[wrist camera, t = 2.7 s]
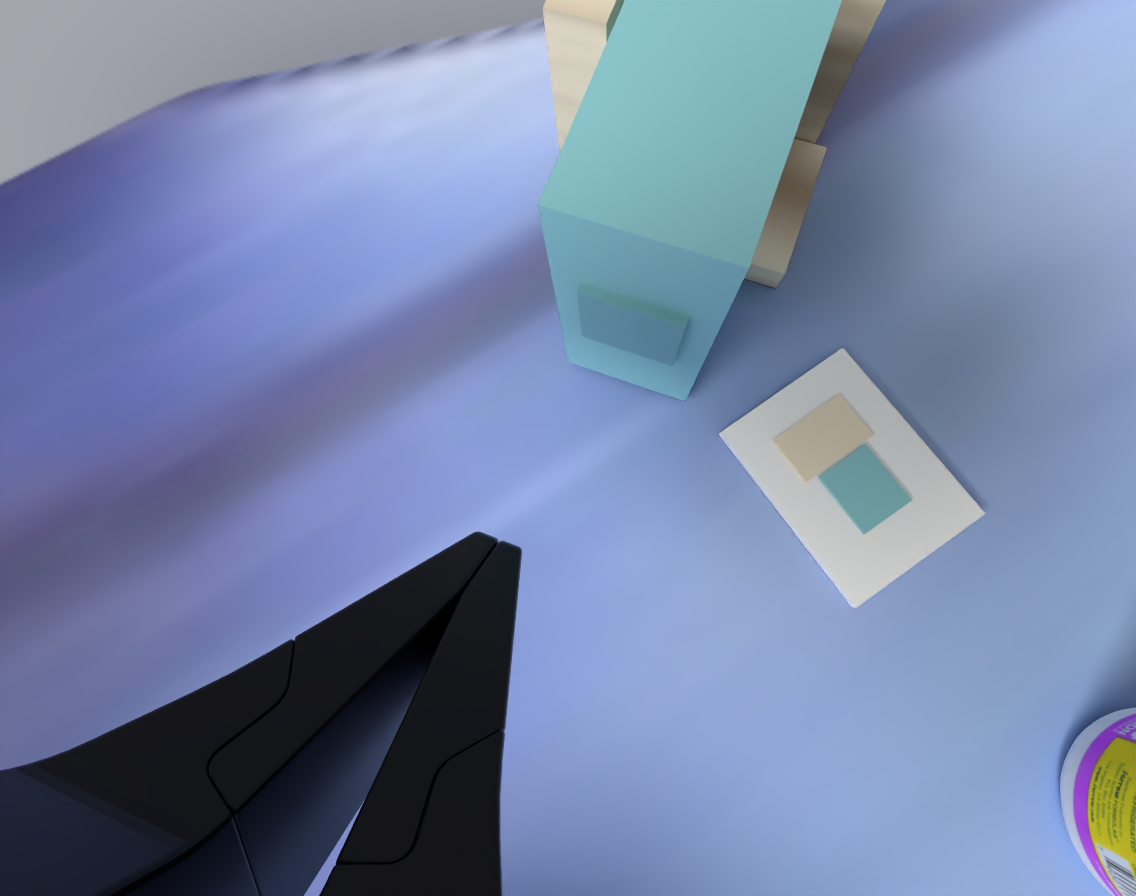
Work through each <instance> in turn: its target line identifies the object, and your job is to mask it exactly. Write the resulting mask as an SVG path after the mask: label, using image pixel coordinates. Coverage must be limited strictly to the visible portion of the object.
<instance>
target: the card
mask: <svg viewBox="0 0 1136 896" xmlns="http://www.w3.org/2000/svg"><path fill="white" fill-rule="evenodd" d="M719 436H720V437H721V438H722V439H723V441H724V442H725V443H726V445H727V446H728V447H729V449H730V450H731V451H732V452H733V454H734V455H735V456H736V458H737V459H738V460H739V462H740V463H741V464H742V465H743V467H744V468H745V469H746V471H747V472H748V473H749V474H750V476H751V477H752V478H753V480H754V481H755V482H756V484H757V485H758V486H759V487H760V489H761V490H762V491H763V493H764V494H765V495H766V497H767V498H768V499H769V500H770V502H771V503H772V504H773V506H774V507H775V508H776V510H777V511H778V512H779V513H780V515H781V516H782V517H783V519H784V520H785V521H786V522H787V524H788V525H789V526H790V528H791V529H792V530H793V532H794V533H795V534H796V535H797V537H798V538H799V539H800V541H801V542H802V543H803V545H804V546H805V547H806V548H807V550H808V551H809V552H810V554H811V555H812V556H813V558H814V559H815V560H816V561H817V563H818V564H819V565H820V567H821V568H822V569H823V570H824V572H825V573H826V574H827V576H828V577H829V578H830V580H831V581H832V582H833V583H834V585H835V586H836V587H837V589H838V590H839V591H840V593H841V594H842V595H843V596H844V598H845V599H846V600H847V602H848V603H849V604H850V606H851V607H854V608H857V607H858V606H859V605H861V604H862V603H864V602H865V601H866V600H868V599H869V598H870V597H872V596H873V595H875V594H876V593H877V592H879V591H880V590H881V589H883V588H884V587H886V586H887V585H888V584H890V583H891V582H892V581H894V580H895V579H897V578H898V577H899V576H901V575H902V574H903V573H905V572H906V571H908V570H909V569H910V568H912V567H913V566H914V565H916V564H917V563H919V562H920V561H921V560H923V559H924V558H925V557H927V556H928V555H930V554H931V553H932V552H934V551H935V550H936V549H938V548H939V547H941V546H942V545H943V544H945V543H946V542H947V541H949V540H950V539H952V538H953V537H954V536H956V535H957V534H958V533H960V532H961V531H963V530H964V529H965V528H967V527H968V526H969V525H971V524H972V523H974V522H975V521H976V520H978V519H979V518H980V517H982V516H983V515H985V512H984V511H983V510H982V509H981V508H980V507H979V505H978V504H977V503H976V502H975V501H974V500H973V498H972V497H971V496H970V495H969V494H968V493H967V491H966V490H965V489H964V488H963V487H962V486H961V484H960V483H959V482H958V481H957V480H956V479H955V477H954V476H953V475H952V474H951V473H950V472H949V470H948V469H947V468H946V467H945V466H944V465H943V464H942V462H941V461H940V460H939V459H938V458H937V457H936V455H935V454H934V453H933V452H932V451H931V450H930V448H929V447H928V446H927V445H926V444H925V443H924V441H923V440H922V439H921V438H920V437H919V436H918V434H917V433H916V432H915V431H914V430H913V429H912V427H911V426H910V425H909V424H908V423H907V422H906V420H905V419H904V418H903V417H902V416H901V415H900V413H899V412H898V411H897V410H896V409H895V408H894V406H893V405H892V404H891V403H890V402H889V401H888V399H887V398H886V397H885V396H884V395H883V394H882V392H881V391H880V390H879V389H878V388H877V387H876V385H875V384H874V383H873V382H872V381H871V380H870V379H869V377H868V376H867V375H866V374H865V373H864V372H863V370H862V369H861V368H860V367H859V366H858V365H857V363H856V362H855V361H854V360H853V359H852V358H851V356H850V355H849V354H848V353H847V352H846V351H845V349H844V348H841V349H840V350H838V351H837V352H835V353H834V354H833V355H831V356H830V357H828V358H827V359H825V360H824V361H823V362H821V363H820V364H818V365H817V366H815V367H814V368H812V369H811V370H810V371H808V372H807V373H805V374H804V375H802V376H801V377H799V378H798V379H797V380H795V381H794V382H792V383H791V384H789V385H788V386H786V387H785V388H784V389H782V390H781V391H779V392H778V393H776V394H775V395H773V396H772V397H771V398H769V399H768V400H766V401H765V402H763V403H762V404H760V405H759V406H758V407H756V408H755V409H753V410H752V411H750V412H749V413H748V414H746V415H745V416H743V417H742V418H740V419H739V420H737V421H736V422H735V423H733V424H732V425H730V426H729V427H727V428H726V429H724V430H723V431H722V432H720V433H719Z"/></svg>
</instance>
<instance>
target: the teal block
mask: <svg viewBox="0 0 1136 896" xmlns="http://www.w3.org/2000/svg"><path fill="white" fill-rule="evenodd" d="M841 1H842V0H624V3H623V5H622V8H621V10H620V12H619V15H618V17H617V19H616V22H615V24H614V26H613V29H612V31H611V33H610V36H609V38H608V40H607V43H606V45H605V48H604V50H603V52H602V55H601V57H600V59H599V62H598V64H597V66H596V69H595V71H594V73H593V76H592V78H591V80H590V83H589V85H588V88H587V90H586V92H585V95H584V97H583V99H582V102H581V104H580V106H579V109H578V111H577V113H576V116H575V118H574V120H573V123H572V125H571V128H570V130H569V132H568V135H567V137H566V139H565V142H564V144H563V146H562V149H561V151H560V153H559V156H558V158H557V160H556V163H555V165H554V167H553V170H552V172H551V175H550V177H549V179H548V182H547V184H546V186H545V189H544V191H543V193H542V196H541V198H540V200H539V203H538V209H539V214H540V219H541V224H542V230H543V235H544V240H545V245H546V250H547V256H548V261H549V266H550V271H551V276H552V281H553V287H554V292H555V297H556V302H557V307H558V312H559V318H560V323H561V328H562V333H563V338H564V344H565V349H566V354H567V359H568V362H569V363H572V364H575V365H578V366H581V367H584V368H587V369H590V370H593V371H596V372H599V373H602V374H605V375H608V376H611V377H614V378H617V379H620V380H623V381H626V382H629V383H631V384H634V385H637V386H640V387H643V388H646V389H649V390H652V391H655V392H658V393H661V394H664V395H667V396H670V397H673V398H676V399H679V400H682V401H686V399H687V396H688V394H689V392H690V390H691V388H692V386H693V384H694V382H695V380H696V378H697V376H698V373H699V371H700V369H701V367H702V365H703V363H704V361H705V359H706V357H707V355H708V353H709V351H710V348H711V346H712V344H713V342H714V340H715V338H716V336H717V334H718V332H719V330H720V328H721V325H722V323H723V321H724V319H725V317H726V315H727V313H728V311H729V309H730V307H731V305H732V303H733V300H734V298H735V296H736V294H737V292H738V290H739V288H740V286H741V284H742V282H743V280H744V277H745V275H746V273H747V271H748V269H749V267H750V264H751V261H752V258H753V255H754V252H755V249H756V246H757V244H758V241H759V238H760V235H761V232H762V229H763V226H764V223H765V220H766V218H767V215H768V212H769V209H770V206H771V203H772V200H773V197H774V195H775V192H776V189H777V186H778V183H779V180H780V177H781V174H782V171H783V169H784V166H785V163H786V160H787V157H788V154H789V151H790V148H791V146H792V143H793V140H794V137H795V134H796V131H797V128H798V125H799V122H800V120H801V117H802V114H803V111H804V108H805V105H806V102H807V99H808V97H809V94H810V91H811V88H812V85H813V82H814V79H815V76H816V73H817V71H818V68H819V65H820V62H821V59H822V56H823V53H824V50H825V48H826V45H827V42H828V39H829V36H830V33H831V30H832V27H833V24H834V22H835V19H836V16H837V13H838V10H839V7H840V4H841Z"/></svg>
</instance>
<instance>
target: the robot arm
mask: <svg viewBox="0 0 1136 896" xmlns="http://www.w3.org/2000/svg"><path fill="white" fill-rule="evenodd" d="M521 558H522V549H521V548H520V547H518V546H516V545H513V544H511V543H508V542H505V541H500V542H499V541H498V539H497V538H495V537H492V536H490V535H487V534H485V533H482V532H474V533H472V534H470V535H469V536H467V537H465V538H464V539H462V540H460V541H458V542H457V543H455V544H453V545H452V546H450V547H448V548H446V549H445V550H443V551H441V552H440V553H438V554H436V555H434V556H433V557H431V558H429V559H428V560H426V561H424V562H423V563H421V564H419V565H417V566H416V567H414V568H412V569H411V570H409V571H407V572H405V573H404V574H402V575H400V576H399V577H397V578H395V579H393V580H392V581H390V582H388V583H387V584H385V585H383V586H381V587H380V588H378V589H376V590H375V591H373V592H371V593H369V594H368V595H366V596H364V597H363V598H361V599H359V600H357V601H356V602H354V603H352V604H351V605H349V606H347V607H346V608H344V609H342V610H340V611H339V612H337V613H335V614H334V615H332V616H330V617H328V618H327V619H325V620H323V621H322V622H320V623H318V624H316V625H315V626H313V627H311V628H310V629H308V630H306V631H304V632H303V633H301V634H299V635H298V636H296V638H295V641H294V640H292V639H291V640H289V641H287V642H285V643H283V644H282V645H280V646H278V647H277V648H275V649H273V650H272V651H270V652H268V653H266V654H265V655H263V656H261V657H259V658H257V659H255V660H254V661H252V662H250V663H248V664H246V665H245V666H243V667H241V668H239V669H237V670H236V671H234V672H232V673H230V674H228V675H226V676H224V677H222V678H220V679H218V680H216V681H214V682H212V683H210V684H208V685H206V686H204V687H202V688H200V689H198V690H196V691H194V692H192V693H190V694H188V695H186V696H183V697H181V698H179V699H177V700H175V701H173V702H171V703H169V704H166V705H164V706H162V707H160V708H158V709H156V710H154V711H152V712H149V713H147V714H145V715H143V716H141V717H139V718H137V719H135V720H133V721H130V722H128V723H126V724H124V725H122V726H120V727H118V728H116V729H113V730H111V731H109V732H107V733H105V734H103V735H101V736H99V737H97V738H94V739H92V740H90V741H88V742H86V743H84V744H81V745H79V746H77V747H74V748H72V749H70V750H67V751H65V752H62V753H59V754H57V755H54V756H52V757H49V758H46V759H42V760H39V761H36V762H33V763H30V764H26V765H22V766H18V767H15V768H11V769H6V770H1V771H0V896H304V894H305V893H306V891H307V890H308V888H309V887H310V885H311V883H312V882H313V880H314V879H315V877H316V876H317V874H318V872H319V871H320V869H321V868H322V866H323V864H324V863H325V861H326V860H327V858H328V857H329V855H330V853H331V852H332V850H333V849H334V847H335V846H336V844H337V842H338V841H339V839H340V838H341V836H342V835H343V833H344V831H345V830H346V828H347V827H348V825H349V824H350V822H351V820H352V819H353V817H354V816H355V814H356V812H357V811H358V809H359V808H360V806H361V805H362V803H363V801H364V800H365V801H364V803H363V805H362V807H361V809H360V811H359V814H358V816H357V818H356V820H355V822H354V824H353V826H352V828H351V831H350V833H349V835H348V837H347V839H346V841H345V843H344V845H343V848H342V850H341V852H340V854H339V856H338V858H337V861H336V866H334V868H333V869H332V871H331V873H330V875H329V877H328V880H327V882H326V884H325V886H324V888H323V890H322V891H321V893H320V895H319V896H502V872H501V842H500V793H501V776H502V760H503V749H504V739H505V733H504V731H505V726H506V715H507V705H508V694H509V684H510V673H511V663H512V652H513V642H514V631H515V621H516V610H517V600H518V589H519V579H520V568H521ZM365 798H366V799H365Z"/></svg>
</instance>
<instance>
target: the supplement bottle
mask: <svg viewBox="0 0 1136 896" xmlns="http://www.w3.org/2000/svg"><path fill="white" fill-rule="evenodd" d="M1060 795H1061V806H1062V812H1063V817H1064V821H1065V825H1066V828H1067V831H1068V833H1069V836H1070V839H1071V841H1072V843H1073V845H1074V847H1075V849H1076V851H1077V853H1078V854H1079V856H1080V858H1081V859H1082V861H1083V862H1084V864H1085V865H1086V867H1087V868H1088V869H1089V871H1090V872H1091V873H1092V874H1093V876H1094V877H1095V878H1096V879H1097V880H1098V881H1099V882H1100V883H1101V885H1102V886H1103V887H1104V888H1105V889H1106V890H1107V891H1108V892H1109V893H1110V894H1112V895H1113V896H1136V707H1134V708H1128V709H1122V710H1118V711H1115V712H1113V713H1110V714H1108V715H1105V716H1103V717H1101V718H1100V719H1098V720H1096V721H1095V722H1093V723H1092V724H1091V725H1089V726H1088V727H1087V728H1086V729H1084V730H1083V731H1082V732H1081V733H1080V735H1079V736H1078V737H1077V738H1076V740H1075V741H1074V742H1073V744H1072V746H1071V748H1070V750H1069V751H1068V754H1067V756H1066V758H1065V761H1064V764H1063V768H1062V771H1061V778H1060Z"/></svg>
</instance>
